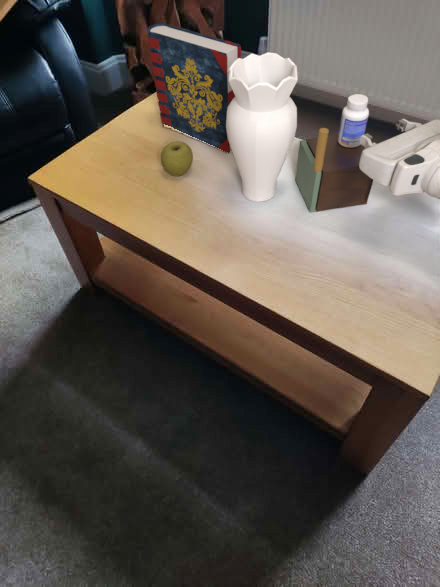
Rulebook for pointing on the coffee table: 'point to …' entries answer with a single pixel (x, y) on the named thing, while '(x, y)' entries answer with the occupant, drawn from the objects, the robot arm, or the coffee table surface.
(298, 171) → the cupboard door
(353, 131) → the pill bottle
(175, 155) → the apple
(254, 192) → the vase
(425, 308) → the coffee table surface
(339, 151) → the cupboard
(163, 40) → the book
